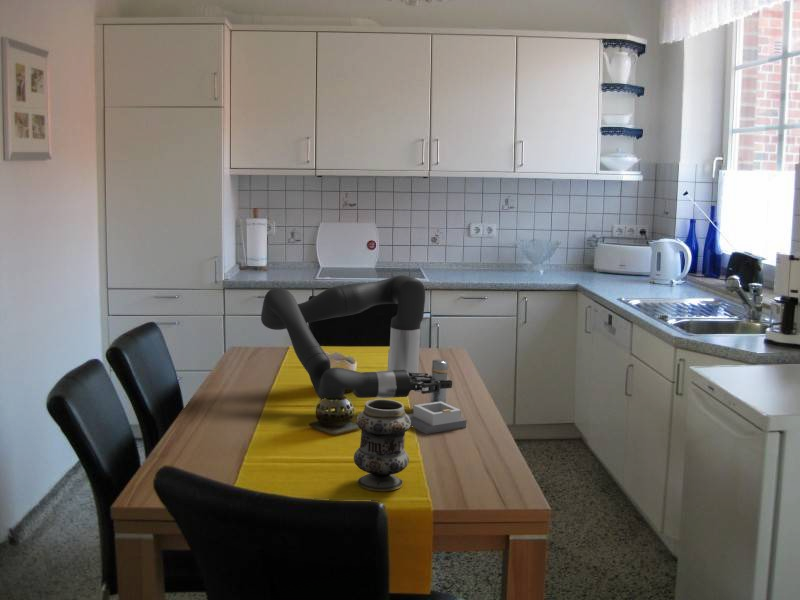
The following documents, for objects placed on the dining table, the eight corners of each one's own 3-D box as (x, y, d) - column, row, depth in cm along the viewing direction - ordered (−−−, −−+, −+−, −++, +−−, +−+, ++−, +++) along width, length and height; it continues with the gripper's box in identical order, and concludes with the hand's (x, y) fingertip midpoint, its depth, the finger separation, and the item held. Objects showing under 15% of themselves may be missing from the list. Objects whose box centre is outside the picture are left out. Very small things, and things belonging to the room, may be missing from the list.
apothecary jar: (418, 488, 191) (422, 408, 188) (370, 497, 185) (374, 415, 182) (389, 470, 201) (392, 393, 198) (342, 478, 195) (345, 399, 192)
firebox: (402, 422, 237) (403, 402, 236) (441, 416, 244) (442, 396, 243) (425, 434, 228) (427, 413, 227) (466, 427, 235) (467, 407, 234)
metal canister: (426, 408, 250) (428, 360, 248) (439, 406, 253) (442, 358, 250) (435, 412, 247) (438, 363, 244) (448, 410, 249) (451, 362, 247)
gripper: (382, 390, 251) (438, 387, 256) (398, 404, 238) (457, 401, 243) (383, 364, 250) (440, 362, 255) (399, 377, 236) (458, 375, 242)
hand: (448, 381), depth 249 cm, fingers closed on metal canister, 4 cm apart
